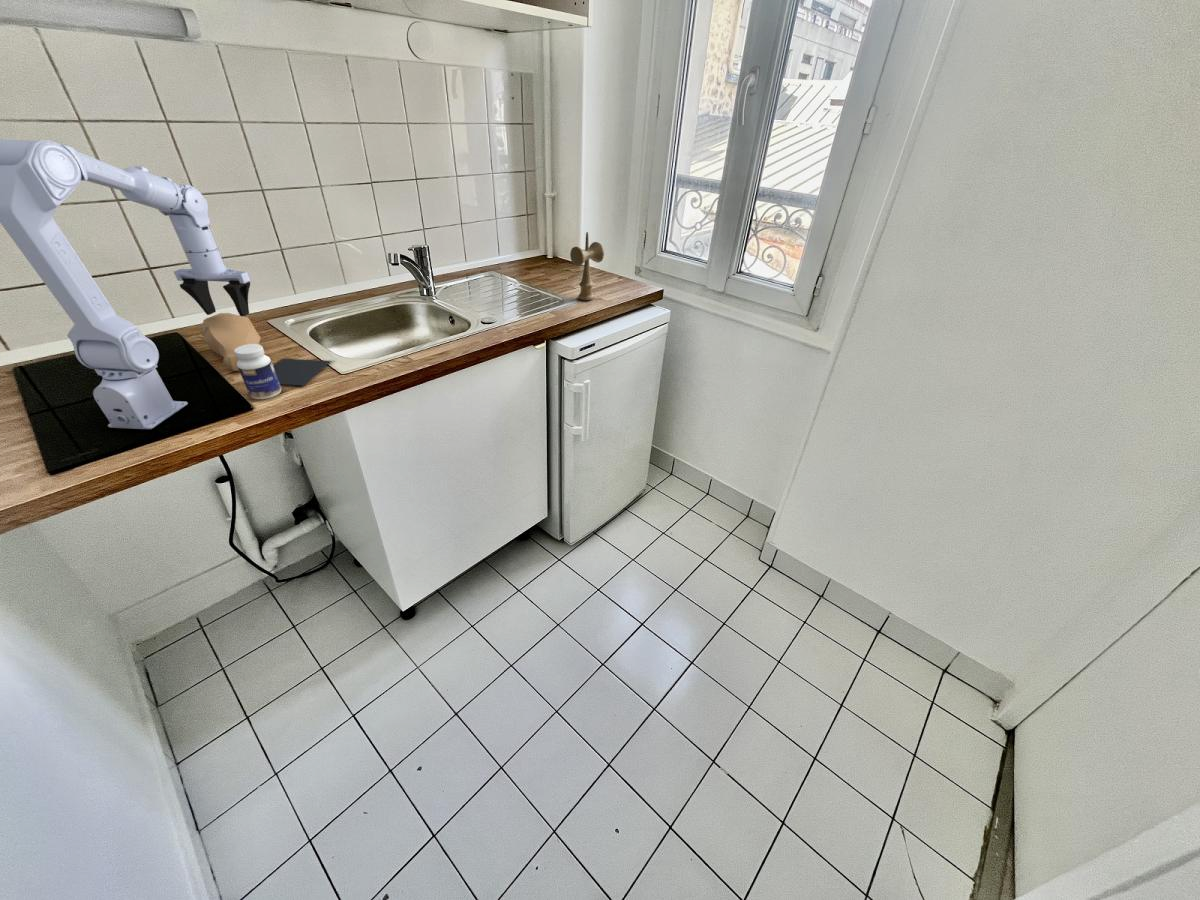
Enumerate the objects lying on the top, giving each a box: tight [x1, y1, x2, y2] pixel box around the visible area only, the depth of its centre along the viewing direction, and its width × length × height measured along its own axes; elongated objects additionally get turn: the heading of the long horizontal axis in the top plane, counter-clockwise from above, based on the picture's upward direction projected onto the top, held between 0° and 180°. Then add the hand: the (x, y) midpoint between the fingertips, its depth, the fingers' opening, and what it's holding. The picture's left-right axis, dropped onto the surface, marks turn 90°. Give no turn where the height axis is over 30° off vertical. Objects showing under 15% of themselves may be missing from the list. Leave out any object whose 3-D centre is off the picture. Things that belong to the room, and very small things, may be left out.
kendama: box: [570, 231, 605, 301], centre depth 149 cm, size 6×10×20 cm, turn 135°
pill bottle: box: [234, 343, 282, 400], centre depth 97 cm, size 6×6×10 cm
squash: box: [201, 312, 262, 372], centre depth 111 cm, size 11×20×9 cm, turn 39°
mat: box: [273, 358, 331, 388], centre depth 107 cm, size 12×11×1 cm
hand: (228, 314), depth 108 cm, fingers open, 7 cm apart
